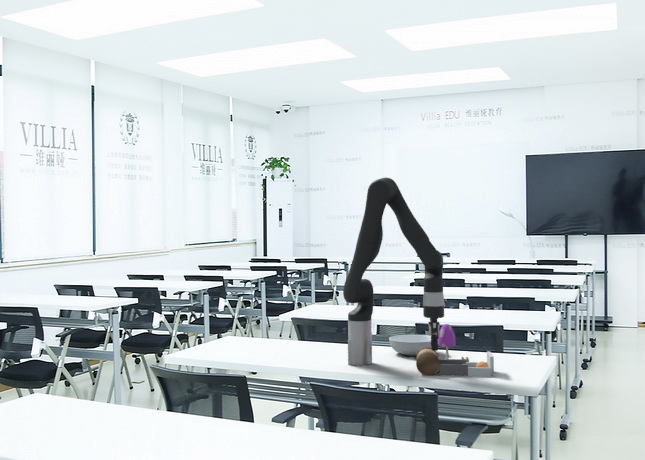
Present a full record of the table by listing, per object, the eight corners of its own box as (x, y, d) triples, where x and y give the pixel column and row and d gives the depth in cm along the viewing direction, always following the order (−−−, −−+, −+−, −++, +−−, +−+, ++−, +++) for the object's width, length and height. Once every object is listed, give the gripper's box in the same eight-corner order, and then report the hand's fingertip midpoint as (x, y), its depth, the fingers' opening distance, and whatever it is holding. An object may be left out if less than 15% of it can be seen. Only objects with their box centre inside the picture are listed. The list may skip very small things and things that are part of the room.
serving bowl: (446, 352, 273) (446, 335, 273) (427, 360, 255) (426, 343, 255) (402, 348, 284) (402, 332, 284) (380, 356, 266) (380, 339, 266)
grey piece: (439, 375, 228) (439, 356, 228) (438, 369, 238) (438, 351, 238) (493, 376, 226) (493, 356, 226) (490, 370, 235) (490, 351, 235)
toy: (455, 363, 248) (455, 325, 248) (438, 363, 249) (437, 325, 249) (455, 360, 255) (455, 322, 255) (438, 360, 256) (438, 322, 256)
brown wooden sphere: (440, 375, 228) (439, 352, 228) (416, 375, 229) (415, 352, 229) (438, 369, 238) (438, 347, 238) (416, 369, 239) (415, 347, 239)
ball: (473, 368, 229) (481, 377, 229) (483, 361, 228) (491, 370, 228) (473, 364, 233) (480, 374, 233) (482, 357, 232) (490, 366, 232)
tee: (461, 369, 238) (461, 358, 238) (460, 367, 241) (460, 356, 241) (469, 369, 237) (469, 358, 238) (468, 367, 240) (468, 356, 240)
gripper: (444, 306, 226) (445, 352, 226) (443, 302, 240) (443, 345, 240) (423, 306, 227) (424, 352, 227) (422, 302, 241) (423, 344, 241)
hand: (434, 348), depth 233 cm, fingers open, 8 cm apart
